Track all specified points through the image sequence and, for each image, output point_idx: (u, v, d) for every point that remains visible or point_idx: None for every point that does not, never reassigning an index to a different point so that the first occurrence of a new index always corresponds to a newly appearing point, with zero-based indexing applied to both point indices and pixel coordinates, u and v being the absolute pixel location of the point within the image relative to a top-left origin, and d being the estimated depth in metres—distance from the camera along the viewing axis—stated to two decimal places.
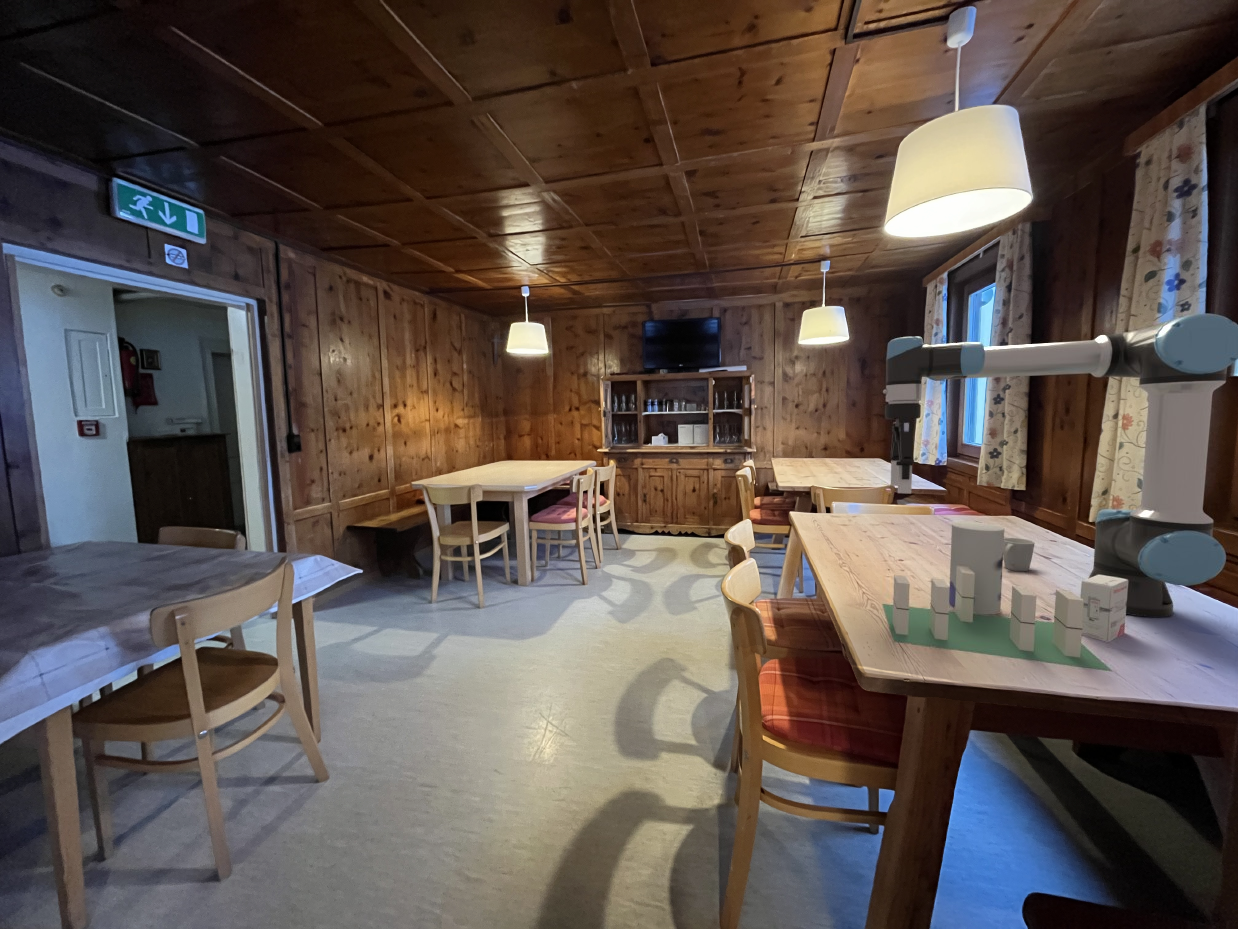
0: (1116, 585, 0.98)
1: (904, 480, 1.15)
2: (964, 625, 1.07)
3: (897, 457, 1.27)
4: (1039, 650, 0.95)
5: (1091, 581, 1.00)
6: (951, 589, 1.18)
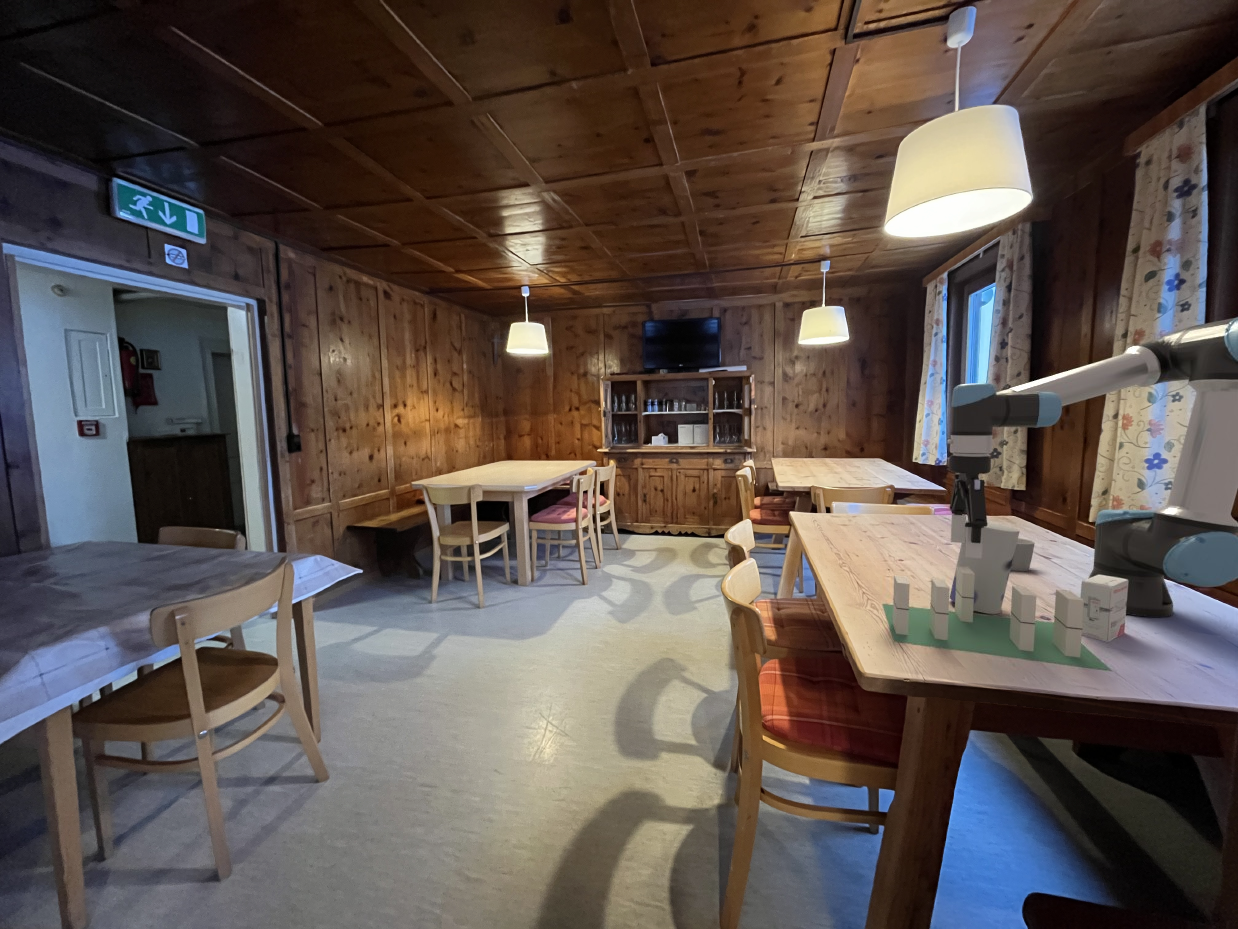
0: (1116, 585, 0.98)
1: (974, 543, 1.03)
2: (964, 625, 1.07)
3: (958, 511, 1.16)
4: (1039, 650, 0.95)
5: (1091, 581, 1.00)
6: (955, 584, 1.18)
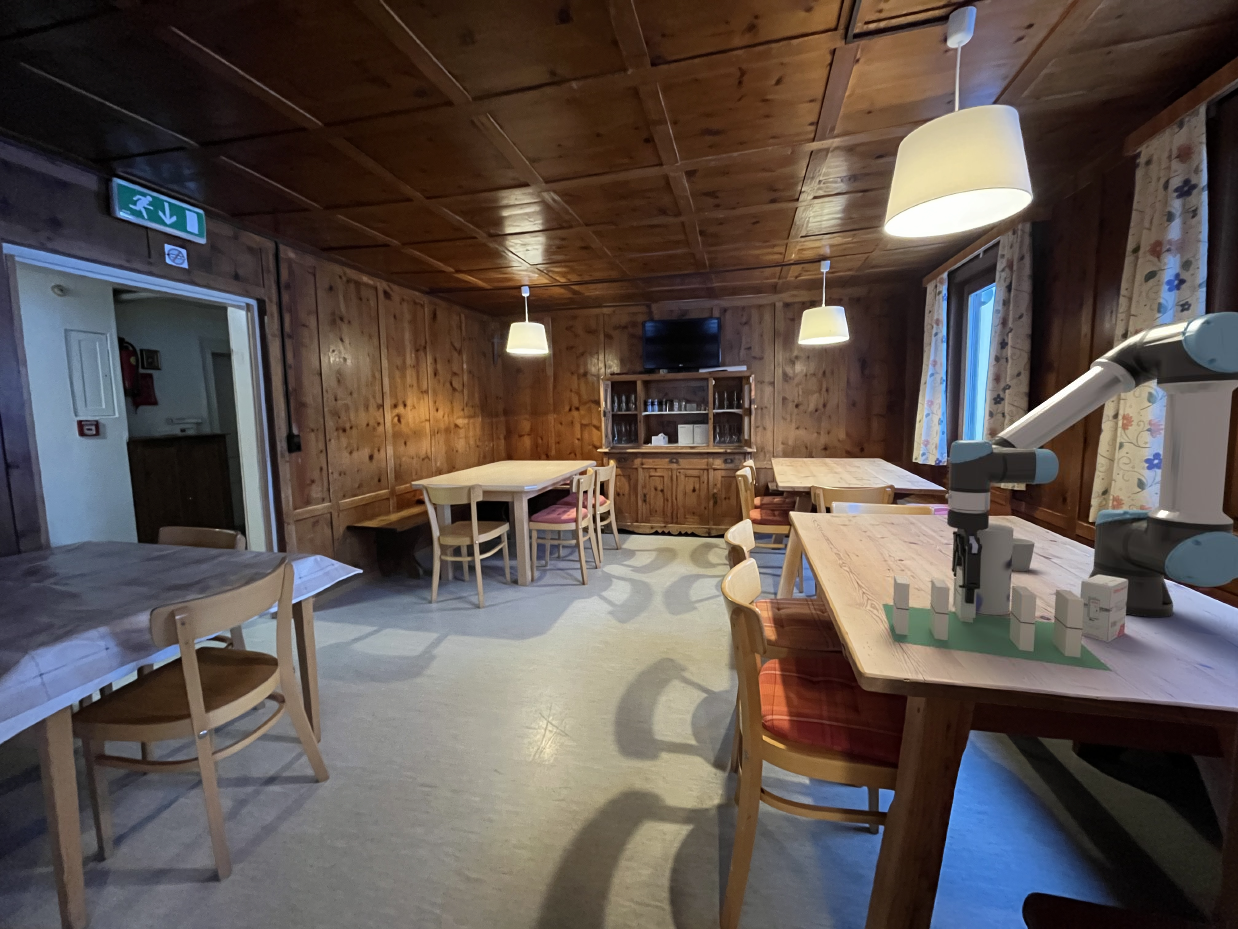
0: (1116, 585, 0.98)
1: (967, 603, 1.08)
2: (964, 625, 1.07)
3: None
4: (1039, 650, 0.95)
5: (1091, 581, 1.00)
6: None
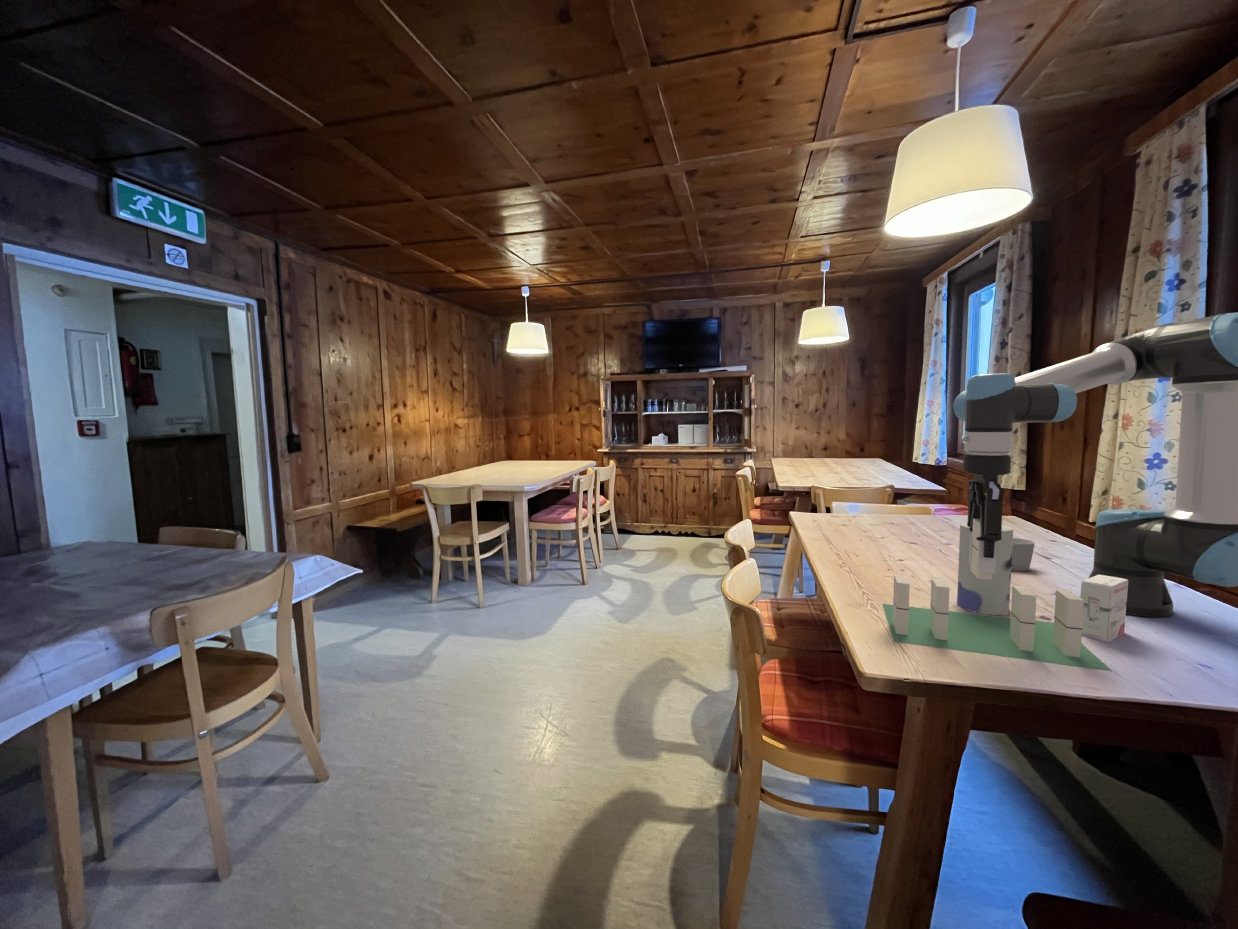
0: (1116, 585, 0.98)
1: (986, 558, 0.95)
2: (964, 625, 1.07)
3: None
4: (1039, 650, 0.95)
5: (1091, 581, 1.00)
6: (959, 589, 1.18)
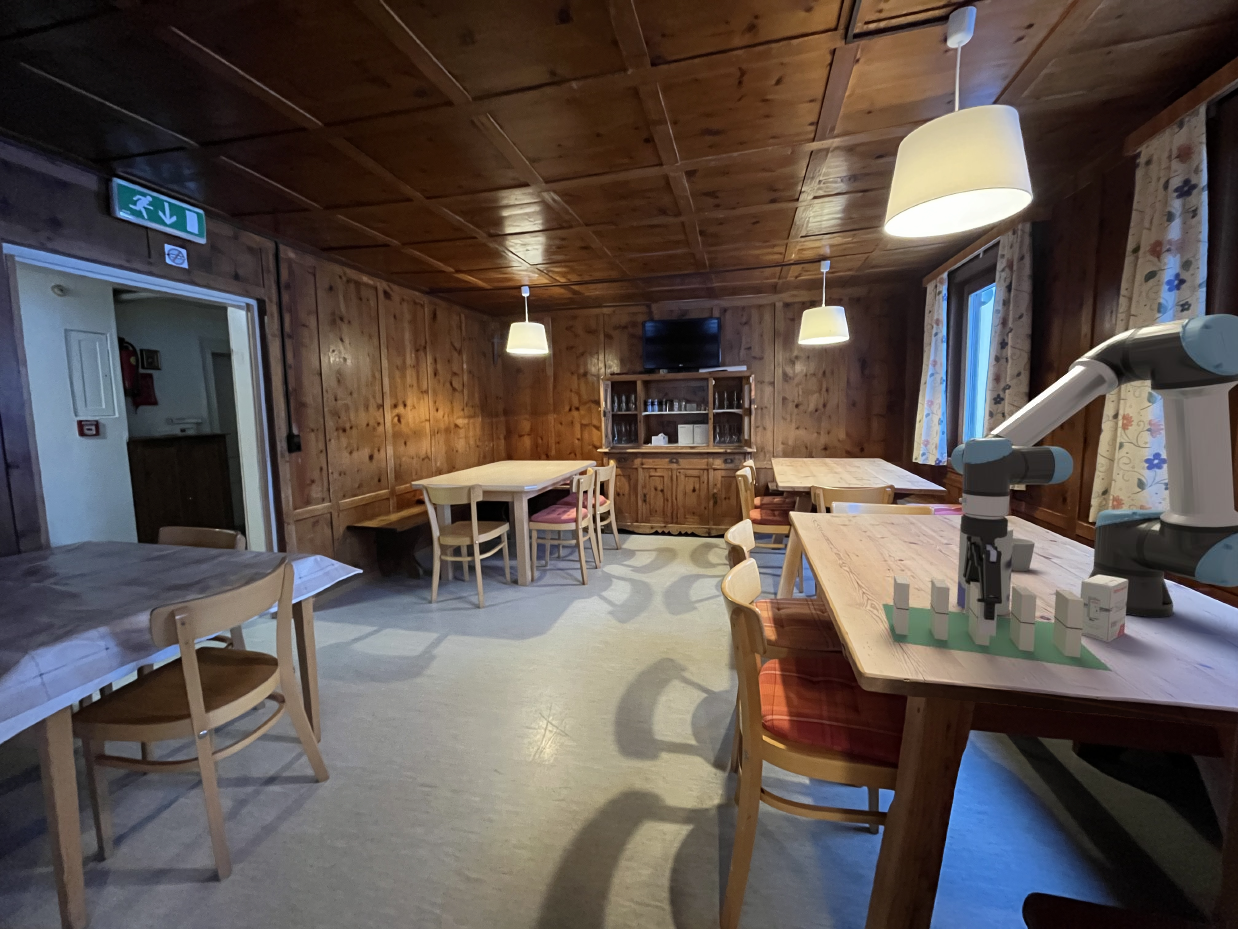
0: (1116, 585, 0.98)
1: (987, 619, 0.95)
2: (964, 625, 1.07)
3: (973, 581, 1.04)
4: (1039, 650, 0.95)
5: (1091, 581, 1.00)
6: (959, 589, 1.18)
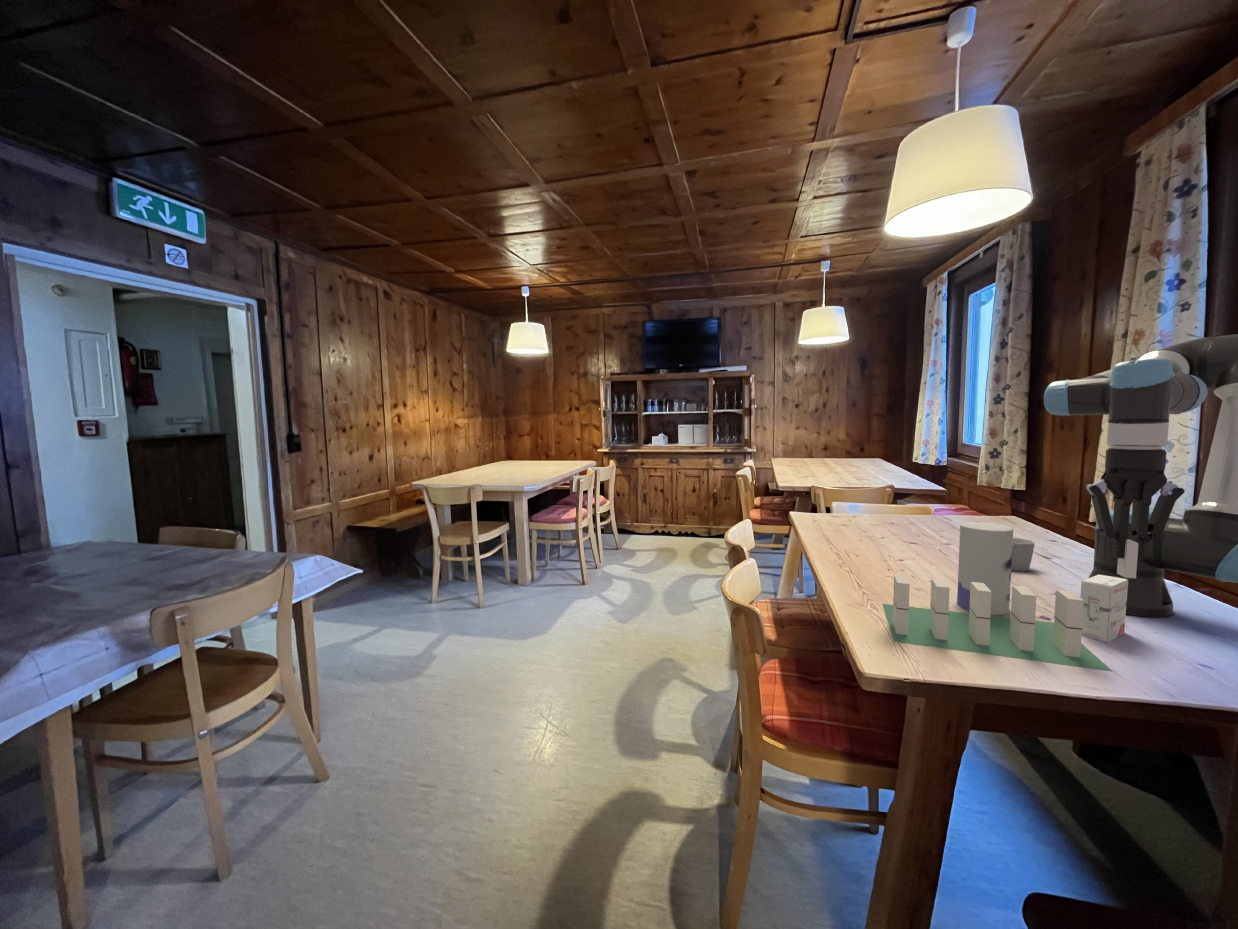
0: (1116, 585, 0.98)
1: (1121, 559, 0.90)
2: (964, 625, 1.07)
3: (1134, 537, 0.89)
4: (1039, 650, 0.95)
5: (1091, 581, 1.00)
6: (959, 589, 1.18)
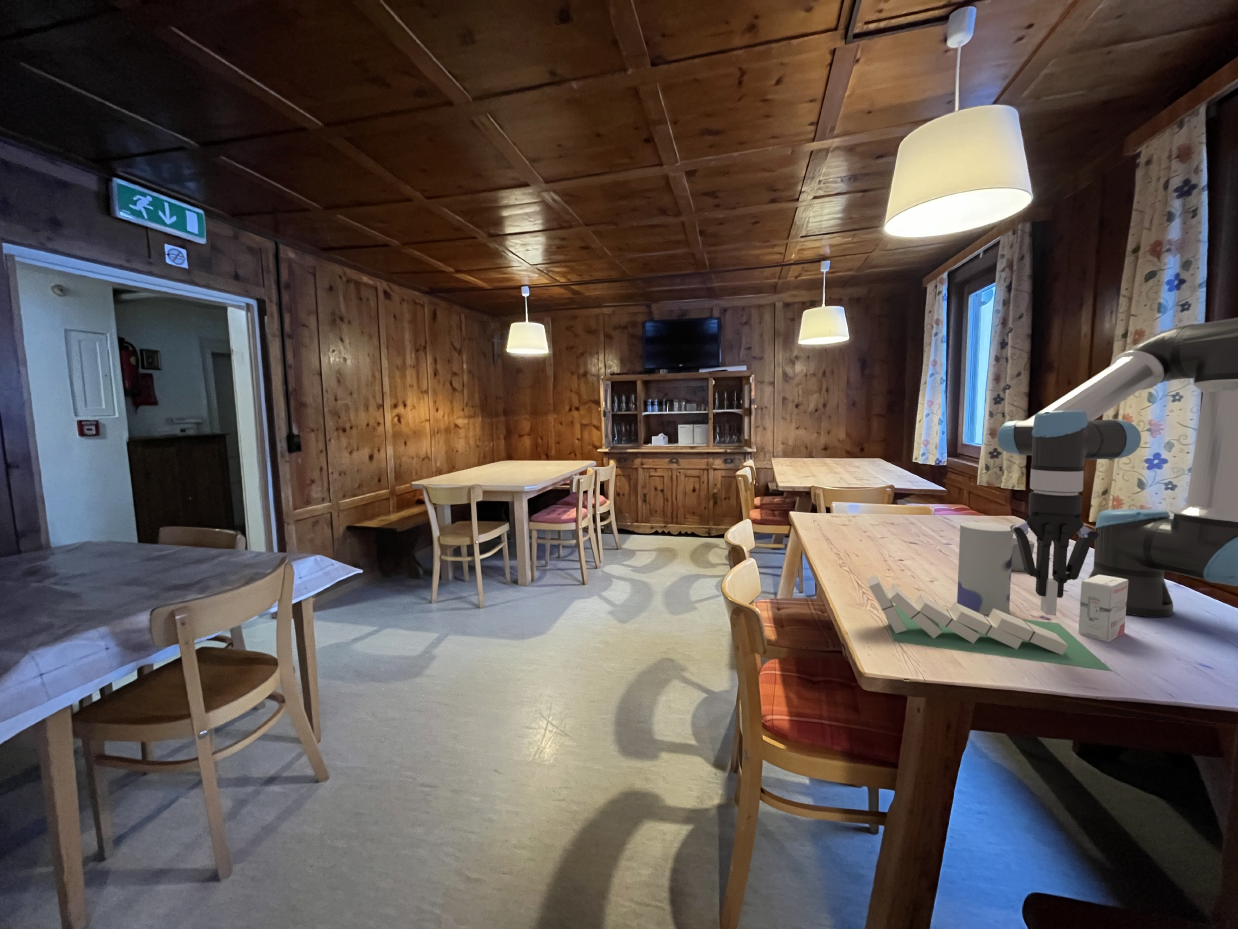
0: (1116, 585, 0.98)
1: (1044, 596, 0.95)
2: None
3: (1055, 576, 0.94)
4: (1039, 650, 0.95)
5: (1091, 581, 1.00)
6: (959, 589, 1.18)
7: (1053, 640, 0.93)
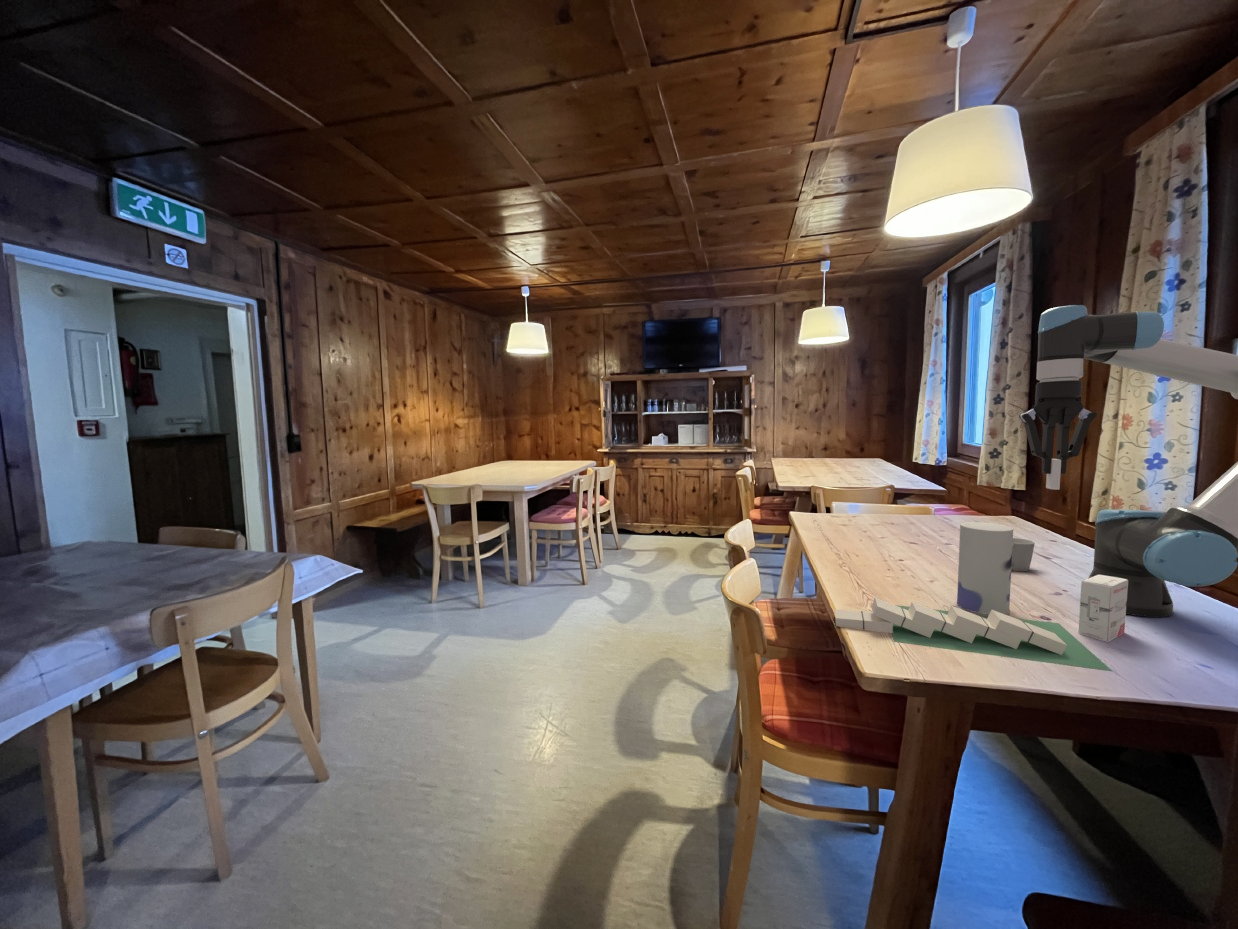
0: (1116, 585, 0.98)
1: (1049, 474, 1.09)
2: None
3: (1059, 455, 1.07)
4: (1039, 650, 0.95)
5: (1091, 581, 1.00)
6: (959, 589, 1.18)
7: (1052, 640, 0.93)
